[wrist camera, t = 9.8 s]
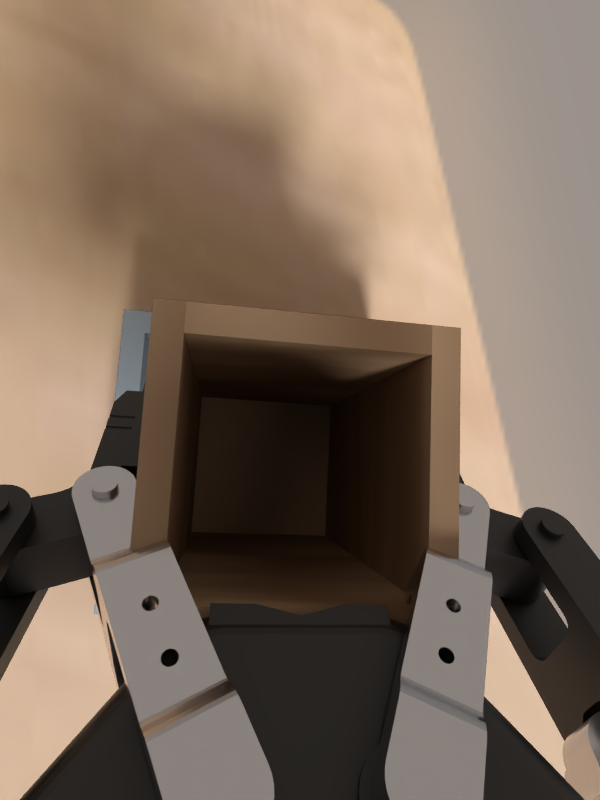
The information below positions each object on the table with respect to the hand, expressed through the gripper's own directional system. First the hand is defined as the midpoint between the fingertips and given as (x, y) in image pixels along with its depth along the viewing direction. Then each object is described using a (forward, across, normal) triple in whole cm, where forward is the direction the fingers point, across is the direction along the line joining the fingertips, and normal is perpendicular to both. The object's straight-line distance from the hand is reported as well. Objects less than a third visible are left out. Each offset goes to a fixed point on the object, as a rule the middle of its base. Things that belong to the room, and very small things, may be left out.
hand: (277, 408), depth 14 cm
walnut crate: (+2, 0, +5) cm, 5 cm away
